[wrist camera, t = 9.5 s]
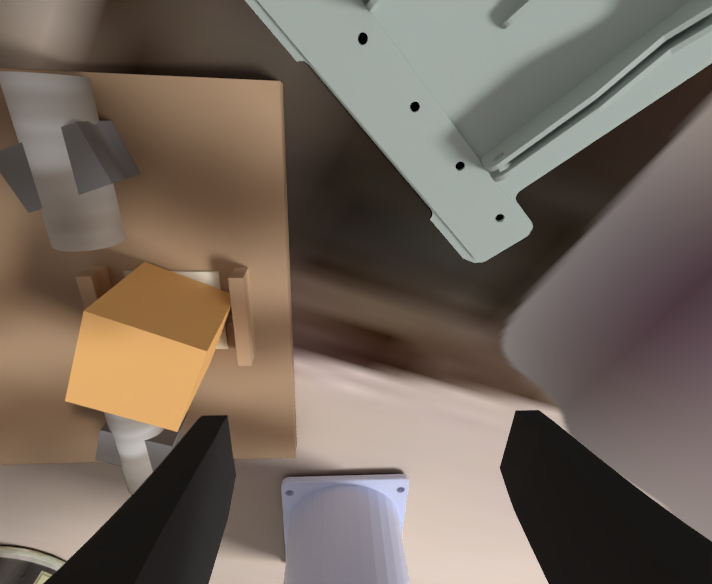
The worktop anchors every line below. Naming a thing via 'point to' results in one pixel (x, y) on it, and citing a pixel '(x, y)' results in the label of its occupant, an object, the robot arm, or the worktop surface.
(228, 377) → the jig
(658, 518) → the robot arm
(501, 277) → the worktop surface
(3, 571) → the coffee can
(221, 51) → the worktop surface
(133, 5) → the worktop surface
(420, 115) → the metal bracket
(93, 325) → the light orange cube
